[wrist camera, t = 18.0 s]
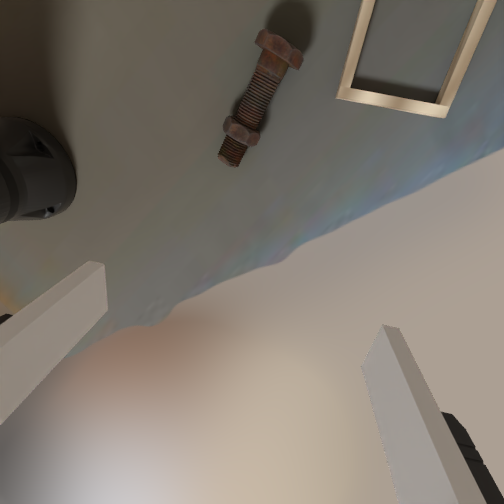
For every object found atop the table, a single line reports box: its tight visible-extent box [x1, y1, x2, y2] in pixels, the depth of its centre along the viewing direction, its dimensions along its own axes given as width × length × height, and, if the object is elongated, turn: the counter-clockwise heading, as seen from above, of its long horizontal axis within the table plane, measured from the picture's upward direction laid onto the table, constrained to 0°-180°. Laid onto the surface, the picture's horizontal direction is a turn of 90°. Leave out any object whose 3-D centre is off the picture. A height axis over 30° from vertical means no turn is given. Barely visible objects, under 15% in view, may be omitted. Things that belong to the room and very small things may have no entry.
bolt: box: [218, 29, 303, 168], centre depth 35 cm, size 6×5×15 cm
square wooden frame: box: [335, 0, 497, 118], centre depth 32 cm, size 13×13×2 cm
